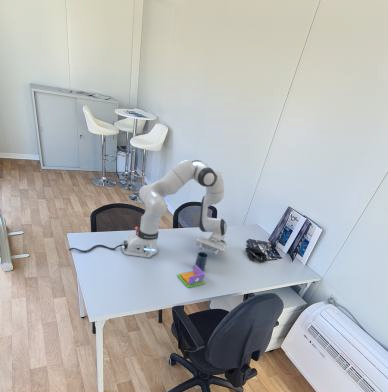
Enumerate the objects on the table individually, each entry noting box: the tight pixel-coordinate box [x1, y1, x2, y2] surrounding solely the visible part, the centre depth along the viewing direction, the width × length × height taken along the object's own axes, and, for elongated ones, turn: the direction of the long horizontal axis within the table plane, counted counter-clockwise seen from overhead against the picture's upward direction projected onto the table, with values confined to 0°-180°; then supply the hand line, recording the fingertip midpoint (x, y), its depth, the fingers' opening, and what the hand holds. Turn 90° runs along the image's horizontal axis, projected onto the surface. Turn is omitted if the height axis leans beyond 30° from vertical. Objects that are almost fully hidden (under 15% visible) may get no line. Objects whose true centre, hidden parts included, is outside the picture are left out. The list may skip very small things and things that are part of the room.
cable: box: [245, 246, 268, 263], centre depth 207 cm, size 17×14×4 cm
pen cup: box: [194, 251, 209, 272], centre depth 178 cm, size 6×6×10 cm
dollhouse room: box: [177, 264, 205, 288], centre depth 168 cm, size 12×12×7 cm
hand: (207, 250), depth 184 cm, fingers open, 8 cm apart
